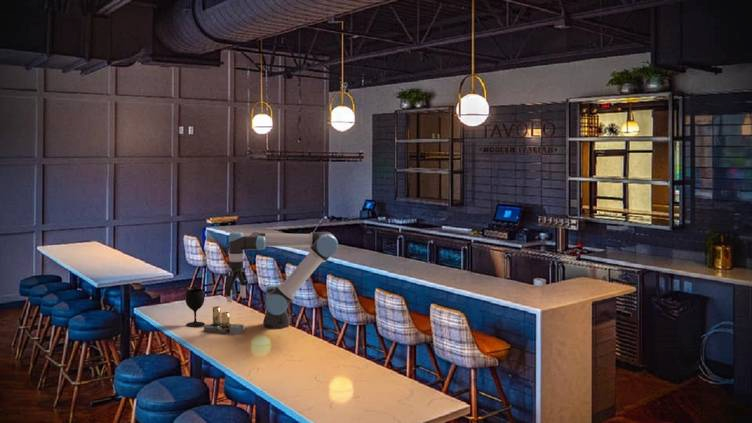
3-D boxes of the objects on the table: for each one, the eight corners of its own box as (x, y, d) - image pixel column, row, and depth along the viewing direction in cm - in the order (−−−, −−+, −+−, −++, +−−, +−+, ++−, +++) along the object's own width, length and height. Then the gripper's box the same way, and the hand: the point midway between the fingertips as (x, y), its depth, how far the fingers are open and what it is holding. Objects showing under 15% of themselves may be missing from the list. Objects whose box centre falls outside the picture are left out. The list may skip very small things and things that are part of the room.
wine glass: (201, 327, 357) (201, 292, 355) (183, 327, 357) (182, 292, 355) (206, 322, 367) (206, 288, 366) (189, 322, 368) (188, 288, 366)
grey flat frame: (215, 326, 359) (215, 322, 359) (236, 329, 355) (236, 324, 354) (203, 331, 349) (203, 326, 349) (225, 334, 344) (225, 329, 344)
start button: (235, 326, 349) (235, 323, 349) (240, 327, 348) (240, 323, 348) (232, 328, 346) (232, 324, 346) (237, 328, 345) (237, 325, 345)
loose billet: (215, 323, 366) (215, 305, 365) (222, 324, 365) (222, 306, 364) (211, 325, 362) (211, 307, 361) (217, 325, 360) (217, 308, 359)
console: (235, 330, 351) (235, 323, 351) (243, 331, 349) (243, 324, 349) (229, 333, 345) (229, 326, 345) (237, 334, 344) (237, 327, 343)
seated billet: (224, 329, 354) (224, 311, 353) (231, 330, 352) (231, 312, 351) (219, 331, 350) (219, 313, 348) (226, 332, 348) (226, 314, 347)
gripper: (242, 256, 356) (242, 294, 358) (217, 264, 333) (217, 303, 335) (254, 257, 354) (254, 295, 356) (229, 265, 331) (229, 305, 333)
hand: (236, 299), depth 346 cm, fingers open, 13 cm apart
